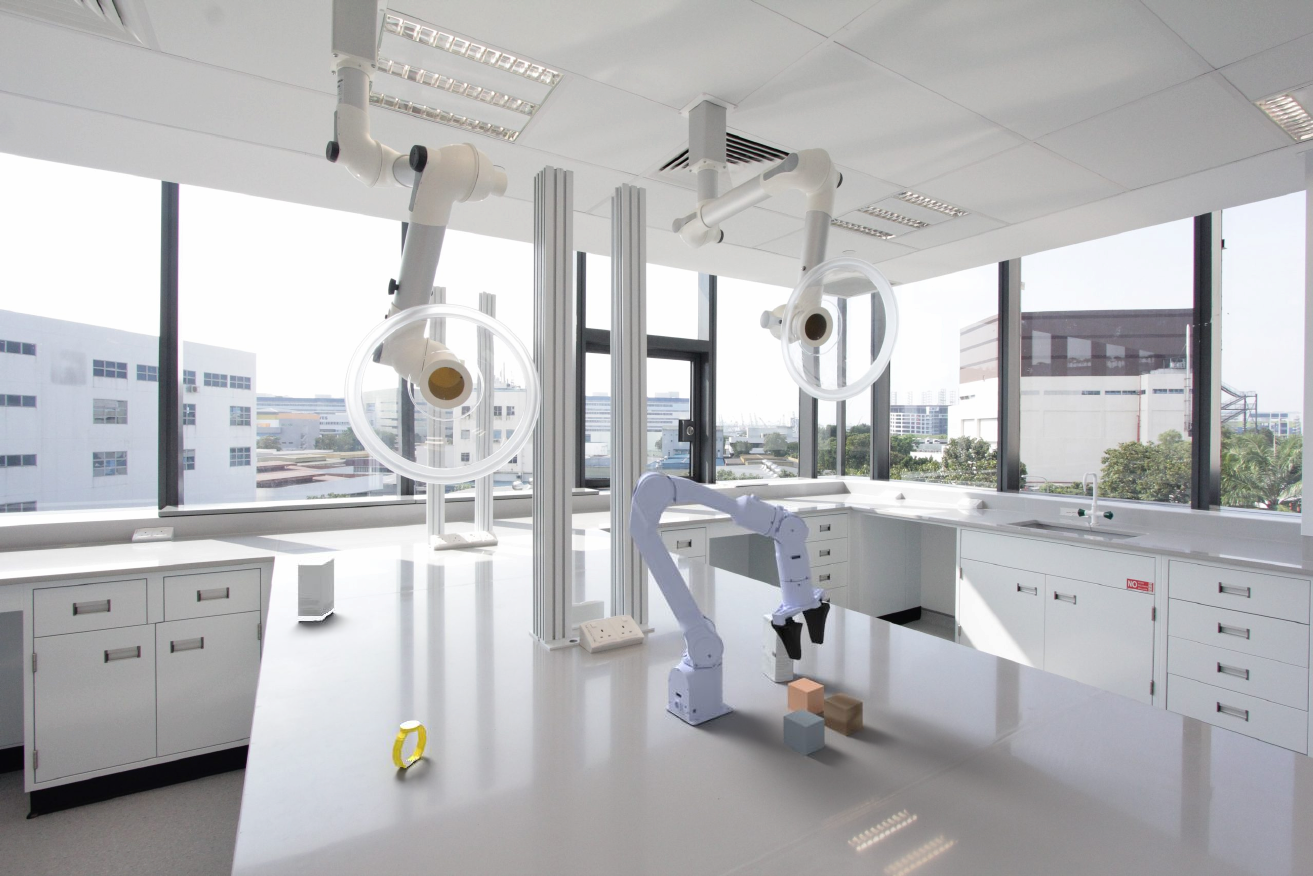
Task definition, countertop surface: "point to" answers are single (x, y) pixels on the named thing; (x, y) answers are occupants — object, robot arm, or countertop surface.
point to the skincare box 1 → (316, 587)
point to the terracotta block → (806, 696)
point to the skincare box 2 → (775, 654)
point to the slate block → (804, 731)
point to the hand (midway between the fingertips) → (806, 650)
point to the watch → (404, 730)
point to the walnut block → (843, 714)
